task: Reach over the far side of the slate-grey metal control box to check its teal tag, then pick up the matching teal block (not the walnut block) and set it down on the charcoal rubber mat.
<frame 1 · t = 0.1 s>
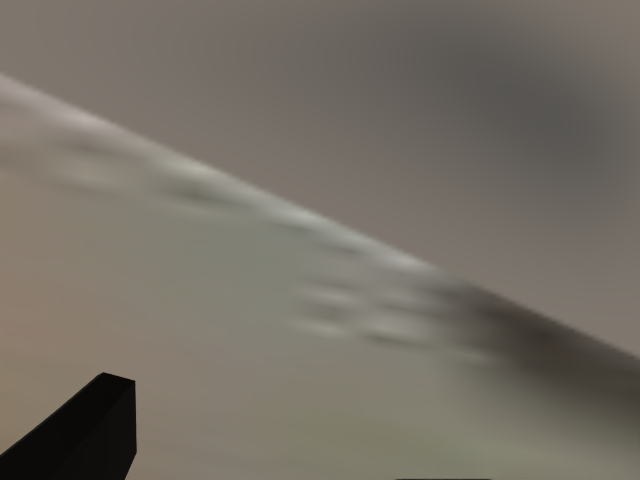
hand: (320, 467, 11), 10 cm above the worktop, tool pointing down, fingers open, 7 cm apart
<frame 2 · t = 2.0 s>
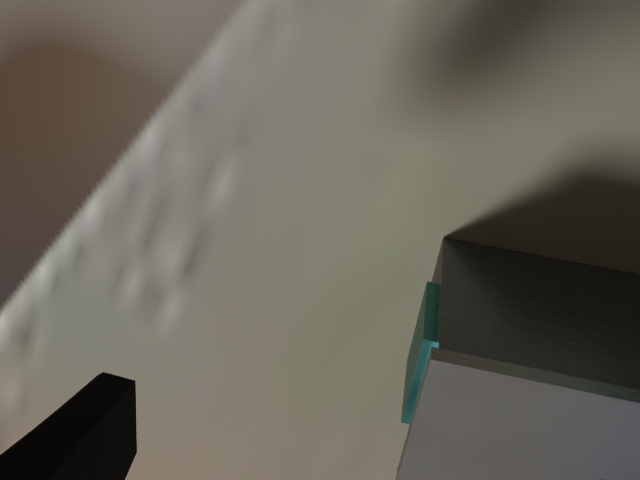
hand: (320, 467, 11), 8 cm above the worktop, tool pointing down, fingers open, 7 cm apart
control box: (560, 317, 18), on the worktop
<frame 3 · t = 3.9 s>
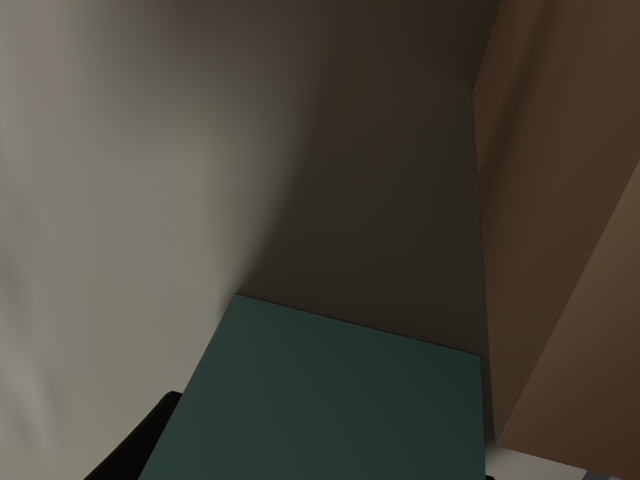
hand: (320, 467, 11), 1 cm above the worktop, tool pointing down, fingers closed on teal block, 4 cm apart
teal block: (334, 407, 12), on the worktop, touching gripper
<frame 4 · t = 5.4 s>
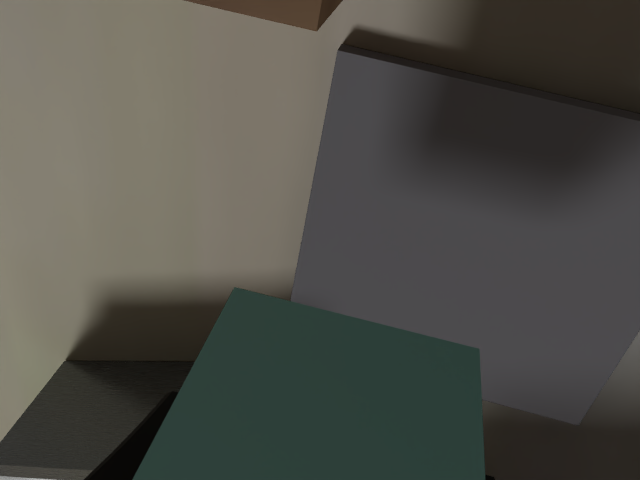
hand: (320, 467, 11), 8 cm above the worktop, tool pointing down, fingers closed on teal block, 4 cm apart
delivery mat: (474, 253, 17), on the worktop
teal block: (333, 401, 12), point 7 cm above the worktop, touching gripper
control box: (170, 399, 24), on the worktop
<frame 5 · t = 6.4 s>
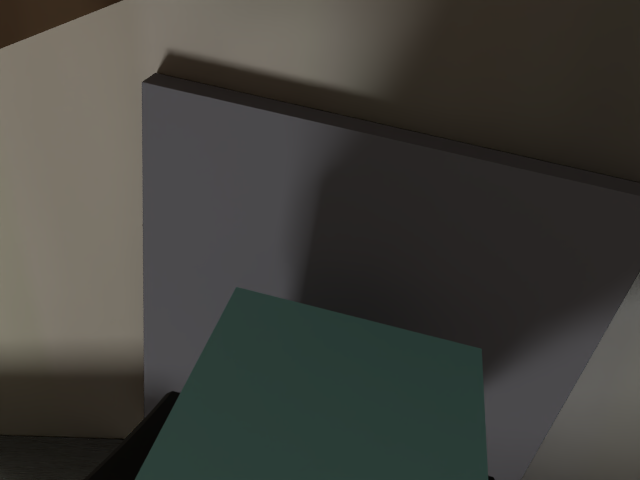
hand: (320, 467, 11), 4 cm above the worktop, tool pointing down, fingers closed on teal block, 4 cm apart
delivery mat: (353, 323, 14), on the worktop
teal block: (335, 401, 12), point 3 cm above the worktop, touching gripper
control box: (41, 476, 20), on the worktop
when the fingers open (3 cm above the worktop, at t = 7.1 s): teal block stays where it is, resting on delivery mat.
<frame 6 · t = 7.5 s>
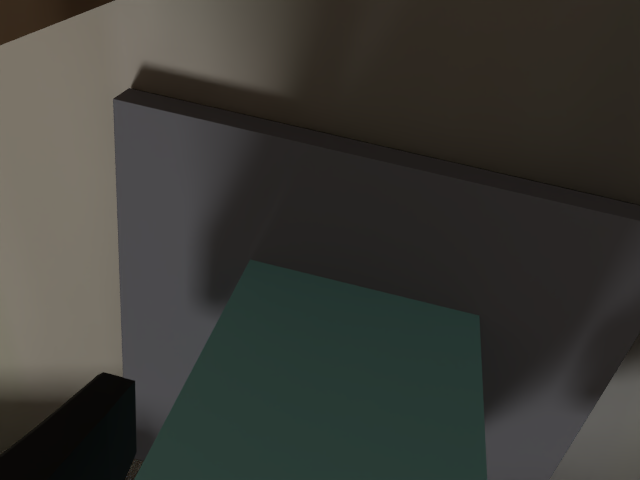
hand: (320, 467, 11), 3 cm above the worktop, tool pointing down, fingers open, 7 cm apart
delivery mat: (346, 353, 13), on the worktop
teal block: (342, 369, 13), point 1 cm above the worktop, touching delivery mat
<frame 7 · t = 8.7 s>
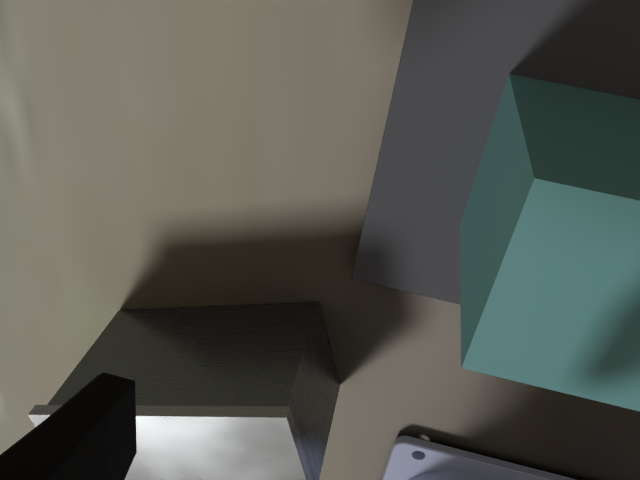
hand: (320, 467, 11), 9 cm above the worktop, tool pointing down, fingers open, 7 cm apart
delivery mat: (561, 166, 17), on the worktop
teal block: (566, 172, 16), point 1 cm above the worktop, touching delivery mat
control box: (228, 348, 23), on the worktop
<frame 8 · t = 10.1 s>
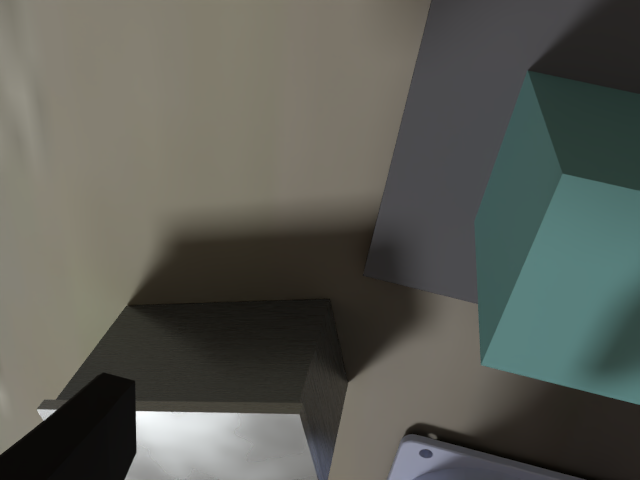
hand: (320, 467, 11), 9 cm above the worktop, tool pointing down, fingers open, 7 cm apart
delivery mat: (577, 164, 16), on the worktop
teal block: (582, 170, 16), point 1 cm above the worktop, touching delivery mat
control box: (236, 344, 23), on the worktop
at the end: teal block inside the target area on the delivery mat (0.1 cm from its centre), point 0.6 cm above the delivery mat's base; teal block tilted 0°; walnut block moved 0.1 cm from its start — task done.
